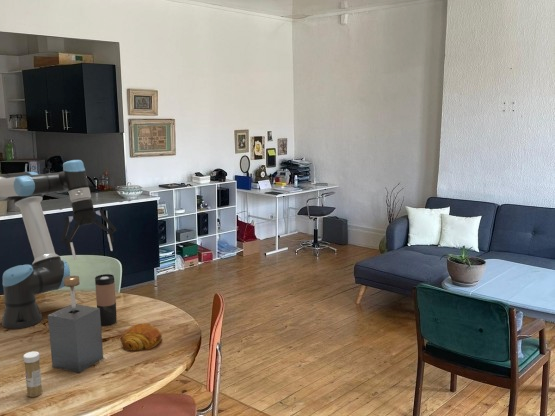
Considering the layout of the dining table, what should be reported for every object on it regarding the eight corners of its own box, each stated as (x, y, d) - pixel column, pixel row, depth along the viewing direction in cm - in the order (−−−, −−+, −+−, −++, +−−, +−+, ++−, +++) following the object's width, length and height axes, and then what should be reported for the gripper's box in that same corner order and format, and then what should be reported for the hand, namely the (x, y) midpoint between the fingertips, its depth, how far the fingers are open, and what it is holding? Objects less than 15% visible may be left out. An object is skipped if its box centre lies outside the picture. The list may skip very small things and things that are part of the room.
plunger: (56, 336, 192) (51, 280, 189) (75, 327, 200) (70, 272, 196) (76, 341, 189) (71, 283, 185) (94, 331, 197) (90, 275, 193)
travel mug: (120, 319, 236) (117, 274, 232) (113, 326, 228) (109, 279, 224) (102, 319, 236) (99, 273, 233) (95, 326, 229) (91, 279, 225)
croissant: (115, 354, 208) (111, 335, 206) (138, 332, 222) (135, 314, 220) (148, 359, 203) (145, 339, 201) (170, 336, 217) (167, 318, 215)
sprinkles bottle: (24, 394, 175) (20, 354, 173) (38, 388, 179) (34, 349, 176) (31, 399, 172) (27, 358, 170) (45, 393, 176) (41, 353, 173)
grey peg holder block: (52, 366, 194) (47, 315, 190) (77, 352, 204) (73, 303, 201) (79, 373, 189) (74, 320, 185) (103, 358, 200) (99, 308, 196)
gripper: (45, 206, 205) (58, 263, 204) (114, 192, 212) (127, 247, 211) (48, 208, 212) (60, 262, 212) (114, 194, 219) (126, 247, 219)
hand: (93, 255), depth 211 cm, fingers open, 13 cm apart
